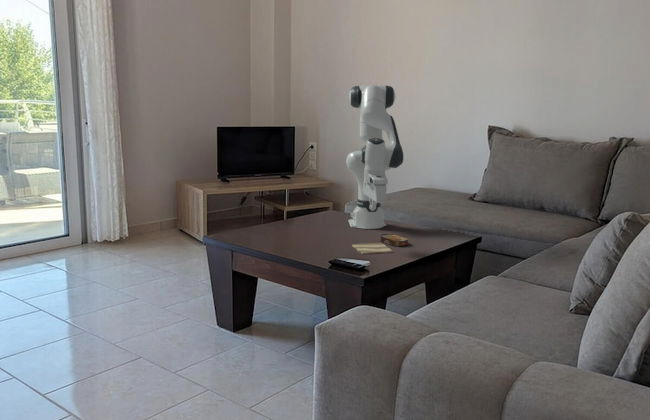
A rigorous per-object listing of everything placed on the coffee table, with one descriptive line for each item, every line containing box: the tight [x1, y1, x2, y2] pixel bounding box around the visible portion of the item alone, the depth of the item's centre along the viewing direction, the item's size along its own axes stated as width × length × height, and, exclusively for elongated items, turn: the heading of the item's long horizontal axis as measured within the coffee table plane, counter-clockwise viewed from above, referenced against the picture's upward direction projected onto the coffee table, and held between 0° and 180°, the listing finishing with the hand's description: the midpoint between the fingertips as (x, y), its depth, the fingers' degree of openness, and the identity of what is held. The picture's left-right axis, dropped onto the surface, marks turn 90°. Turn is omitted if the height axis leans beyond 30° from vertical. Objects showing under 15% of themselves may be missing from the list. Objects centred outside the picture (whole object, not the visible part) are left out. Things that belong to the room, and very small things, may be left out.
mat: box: [351, 242, 394, 255], centre depth 258 cm, size 15×14×1 cm
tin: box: [379, 233, 409, 247], centre depth 269 cm, size 15×3×8 cm
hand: (372, 208), depth 254 cm, fingers closed
